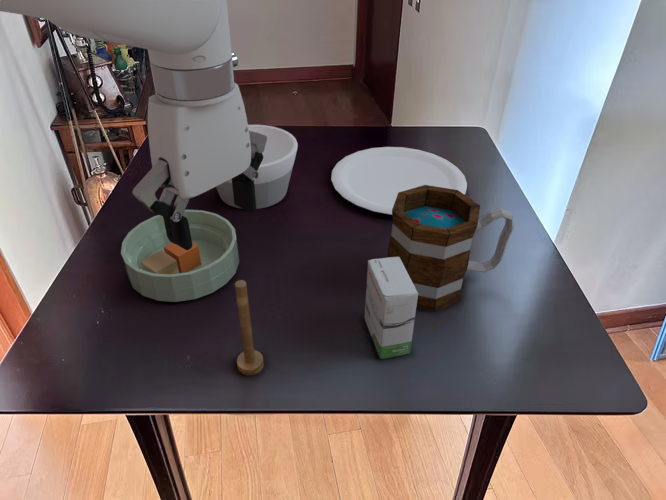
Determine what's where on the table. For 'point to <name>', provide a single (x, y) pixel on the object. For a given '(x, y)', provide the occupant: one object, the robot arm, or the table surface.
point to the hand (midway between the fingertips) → (214, 225)
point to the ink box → (390, 306)
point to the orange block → (184, 256)
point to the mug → (440, 241)
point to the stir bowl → (204, 279)
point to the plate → (391, 176)
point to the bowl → (268, 168)
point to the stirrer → (246, 334)
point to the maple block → (160, 264)
